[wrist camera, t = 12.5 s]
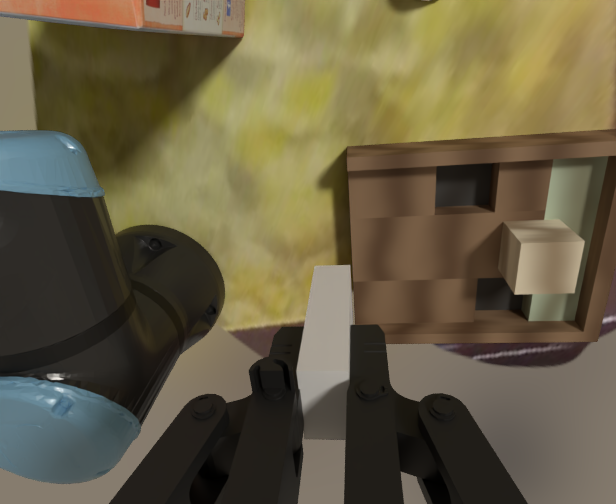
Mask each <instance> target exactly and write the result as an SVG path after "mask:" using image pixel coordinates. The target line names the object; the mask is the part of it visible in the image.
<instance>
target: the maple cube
mask: <svg viewBox="0 0 616 504" xmlns="http://www.w3.org/2000/svg"><path fill="white" fill-rule="evenodd" d="M584 243H585V241H584V240H583V239H582V238H581V237H579V236H578V235H577V234H576V233H575V232H574V231H573V230H571V229H570V228H569V227H568V226H567V225H566V224H564V223H563V222H562V221H561V220H560V219H552V220H528V221H505V222H503V228H502V237H501V246H500V255H499V264H498V269H499V271H500V272H501V274H502V276H503V277H504V279H505V280H506V282H507V283H508V285H509V287H510V288H511V290H512V291H513V293H514V295H519V294H563V293H575V288H576V283H577V278H578V273H579V268H580V263H581V258H582V253H583V248H584Z"/></svg>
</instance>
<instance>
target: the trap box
mask: <svg viewBox="0 0 616 504" xmlns="http://www.w3.org/2000/svg"><path fill="white" fill-rule="evenodd" d="M347 171H348V182H349V203H350V225H351V246H352V267H353V288H354V308H355V325H374V324H378V325H379V327H380V328H381V329H382V330H383V332H384V333H385V342H386V344H425V343H427V344H428V343H429V344H430V343H524V342H597V341H598V337H599V333H600V329H601V325H602V321H603V316H604V312H605V308H606V304H607V300H608V296H609V291H610V287H611V283H612V279H613V275H614V271H615V266H616V129H610V130H594V131H579V132H564V133H548V134H533V135H518V136H502V137H487V138H472V139H456V140H441V141H425V142H410V143H395V144H379V145H364V146H349V147H347ZM552 219H560V220H561V221H562V222H563V223H564V224H566V225H567V226H568V227H569V228H570V229H571V230H573V231H574V232H575V233H576V234H577V235H578V236H579V237H581V238H582V239H583V240H584V241H585V243H584V248H583V253H582V258H581V263H580V268H579V273H578V278H577V283H576V288H575V293H563V294H519V295H514V293H513V291H512V290H511V288H510V287H509V285H508V283H507V282H506V280H505V279H504V277H503V276H502V274H501V272H500V271H499V269H498V264H499V255H500V246H501V237H502V228H503V222H505V221H528V220H552Z"/></svg>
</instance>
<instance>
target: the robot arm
mask: <svg viewBox="0 0 616 504" xmlns="http://www.w3.org/2000/svg"><path fill="white" fill-rule="evenodd" d="M103 196H105V192H104V190H103V188H101V187H100V186H99V183H98V181H97V178H96V176H95V173H94V171H93V168H92V166H91V163H90V161H89V158H88V155H87V153H86V151H85V149H84V147H83V146H82V145H81V143H80V142H79V141H77V140H76V139H75V138H73V137H72V136H70V135H68V134H65V133H62V132H58V131H47V130H24V131H23V130H20V131H0V468H2V469H4V470H7V471H9V472H12V473H15V474H17V475H19V476H22V477H25V478H28V479H33V480H37V481H41V482H49V483H57V484H71V483H82V482H87V481H90V480H93V479H96V478H98V477H101V476H102V475H104V474H106V473H107V472H109V471H110V470H111V469H112V468H114V466H115V465H116V464H117V463H118V462H119V461H120V459H121V458H122V456H123V455H124V453H125V452H126V450H127V449H128V447H129V446H130V444H131V443H132V441H133V440H135V439H136V438H137V437H138V435H139V433H140V431H141V430H140V429H141V426H142V424H143V422H144V420H145V419H146V417H147V415H148V413H149V411H150V409H151V407H152V405H153V404H154V402H155V400H156V398H157V396H158V394H159V392H160V390H161V389H162V387H163V385H164V383H165V381H166V379H167V378H168V376H169V374H170V372H171V370H172V369H173V367H174V365H175V363H176V361H177V359H178V358H179V356H180V354H182V353H183V352H184V351H186V350H187V349H188V348H190V347H191V346H192V345H194V344H195V343H196V342H198V341H199V340H201V339H202V338H203V337H204V336H205V335H206V334H207V333H208V332H209V331H210V330H211V329H212V327H213V326H214V324H215V323H216V321H217V319H218V317H219V315H220V313H221V310H222V308H223V304H224V299H225V287H224V281H223V277H222V275H221V272H220V270H219V268H218V266H217V264H216V262H215V261H214V259H213V258H212V257H211V255H210V254H209V253H208V252H207V251H206V250H205V249H204V248H203V247H202V246H201V245H200V244H199V243H198V242H196V241H195V240H194V239H192V238H190V237H189V236H187V235H185V234H183V233H181V232H179V231H177V230H174V229H171V228H168V227H164V226H158V225H139V226H134V227H130V228H127V229H125V230H122V231H120V232H119V233H117V234H116V235H115V233H114V229H113V226H112V223H111V220H110V216H109V213H108V210H107V206H106V203H105V200H104V197H103ZM249 375H250V381H251V386H252V391H253V392H252V394H251V395H250V396H248V397H246V398H243V399H240V400H237V401H233V402H229V403H226V401H225V400H224V399H223V398H222V397H221V396H219V395H216V394H205V395H201V396H198V397H196V398H194V399H192V400H191V401H189V403H187V404H186V405H185V406H184V408H183V409H182V410H181V411H180V413H179V414H178V415H177V417H176V418H175V419H174V420H173V422H172V423H171V424H170V426H169V427H168V428H167V430H166V431H165V432H164V433H163V435H162V436H161V437H160V439H159V440H158V441H157V442H156V444H155V445H154V446H153V448H152V449H151V450H150V452H149V453H148V454H147V455H146V457H145V458H144V459H143V460H142V462H141V463H140V464H139V466H138V467H137V468H136V470H135V471H134V472H133V473H132V475H131V476H130V477H129V478H128V480H127V481H126V482H125V484H124V485H123V486H122V488H121V489H120V490H119V491H118V493H117V494H116V496H115V497H114V498H113V499H112V500H111V502H110V503H109V504H297V503H298V495H299V486H300V477H301V470H302V462H303V447H302V438H303V430H304V438H305V439H326V440H327V439H328V440H346V447H345V490H344V504H404V501H403V492H402V481H401V472H404V473H407V474H410V475H413V476H416V477H417V480H418V483H419V485H420V488H421V490H422V493H423V495H424V497H425V500H426V502H427V504H527V502H526V500H525V499H524V497H523V495H522V494H521V492H520V491H519V489H518V488H517V486H516V484H515V483H514V481H513V480H512V478H511V477H510V475H509V473H508V472H507V470H506V469H505V467H504V466H503V464H502V463H501V461H500V459H499V458H498V456H497V455H496V453H495V452H494V450H493V448H492V447H491V445H490V444H489V442H488V441H487V439H486V438H485V436H484V435H483V433H482V431H481V430H480V428H479V427H478V425H477V423H476V422H475V420H474V419H473V417H472V416H471V414H470V412H469V411H468V409H467V408H466V406H465V405H464V404H463V403H462V402H461V401H460V400H458V399H457V398H455V397H453V396H451V395H446V394H443V393H440V394H431V395H428V396H425V397H424V398H423V399H422V400H421V401H420V402H417V401H414V400H410V399H407V398H405V397H403V396H401V395H399V394H398V393H397V392H396V391H394V389H393V388H392V386H391V384H390V380H389V371H388V361H387V352H386V342H385V333H384V332H383V330H382V329H381V328H380V327H379V325H378V324H374V325H353V311H352V290H351V270H350V265H332V266H315V267H314V273H313V278H312V284H311V290H310V296H309V301H308V307H307V313H306V319H305V324H304V327H281V329H280V330H279V331H278V332H277V333H276V334H275V335H274V338H273V342H272V347H271V349H270V354H269V357H265V358H263V359H260V360H258V361H257V362H256V363H254V364H253V365H252V366H251V368H250V369H249ZM400 471H401V472H400Z"/></svg>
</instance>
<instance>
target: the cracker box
mask: <svg viewBox="0 0 616 504" xmlns="http://www.w3.org/2000/svg"><path fill="white" fill-rule="evenodd" d="M244 15H245V0H0V16H2V17H10V18H19V19H27V20H36V21H44V22H53V23H62V24H71V25H80V26H89V27H98V28H110V29H121V30H132V31H144V32H158V33H173V34H187V35H201V36H217V37H234V38H242V37H243V36H244Z"/></svg>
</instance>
